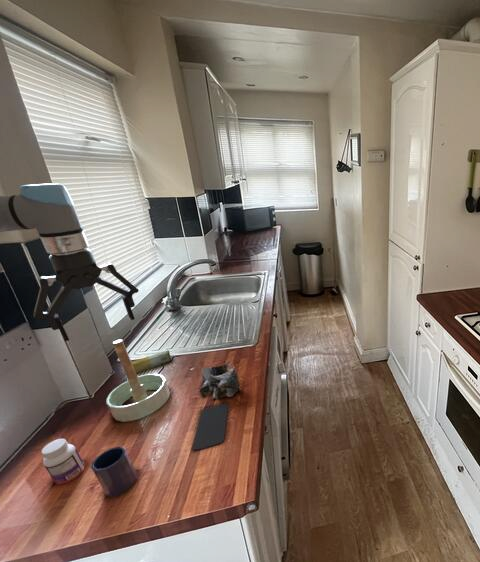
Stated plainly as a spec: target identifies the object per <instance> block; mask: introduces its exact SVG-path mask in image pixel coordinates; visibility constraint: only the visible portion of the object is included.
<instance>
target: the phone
mask: <svg viewBox="0 0 480 562" xmlns="http://www.w3.org/2000/svg"><path fill="white" fill-rule="evenodd" d="M228 409H229V404H228V403H221V404H220V403H219V404H216V405H213V406H208V407H206V408H203V409H202V410H201V411H200V415H199V419H198V424H197V427H196V431H195V437H194V440H193V446H192V450H193V451H200V450H204V449H207V448H211V447H214V446H217V445H220V444H222V443H223V442H224V441H225V437H226V429H227V428H226V427H227V420H228Z"/></svg>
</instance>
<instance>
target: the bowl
mask: <svg viewBox="0 0 480 562" xmlns="http://www.w3.org/2000/svg"><path fill="white" fill-rule="evenodd" d="M137 377H138V379H139V382H140V384H143V386H144V388H145V391H146V392H147V391H150V390H156V391H155V392H153V393H151V394H150V395H148V397H147V398H146V399H144V400H141V401H139V402H137V403H135V402H134V403H130V404H127V405H124V403H125V402H127V401H128V400H129V399H130V398H133V396H132V394H131V392H130V389H132V388H131V386H130V383H129V381H128V380H126V381H124V382H122V383H121V384H119V385H118V386H117V387H115V388H114V389H112V391H111V392H110V393H109V394H108V395H107V396H106V405H107V408H108V410H109V411H110V413H111V416H112V417H113V419H115V421H118V422H122V423H124V422H133V421H136V420H140V419H143V418H145V417H147V416H150V415H152V414H153V413H155V412H156V411H158V410H159V409H160V408H161V407H163V406H164V405H165V404H166V403H167V401H168V400H169V398H170V395H171V391H170V389H169V386H168V383H167V380H166V378H165V376H164V375H162V374H161V373H146V374H142V375H137Z"/></svg>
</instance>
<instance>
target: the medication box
mask: <svg viewBox="0 0 480 562" xmlns="http://www.w3.org/2000/svg"><path fill="white" fill-rule="evenodd" d="M172 360H173V359H172V355H171V353H170V350H165V351H164V350H163V351H161V352H159V353H155V354H152V355H149V356H146V357H143V358H140V359H137V360H133V361H131V362H132V365H133V367H134V370H135V372H136V374H138V373H140V372H143V371H147V370H149V369H152V368H156V367H158V366H161V365H163V364H166V363H168V362H172Z"/></svg>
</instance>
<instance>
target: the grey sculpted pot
mask: <svg viewBox="0 0 480 562" xmlns="http://www.w3.org/2000/svg"><path fill="white" fill-rule="evenodd" d="M229 366H231V367H232V368H230V369H229ZM228 369H229V370H228ZM201 378H202V384H203V385H202V386H201V387H200V388H199V390H198V392H199V393H200V394H201V395H202V394H203V396H206V397H207V396H208V395H212V399H215V400H216V399H223V398H224V397H228V398H229V397H230V398H232V397H233V396H234V395H235V394H236V393H237V392H240V390H241V389H240V381H239V379H240V378H239V375H238V373H237V370H236V369H235V366H234V365H233V364H232V363H231V362H230V361H228V362H226V363H225V364H223V365H219V366H212V367H210V366H209V367H208V366H206V367H201Z"/></svg>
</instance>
